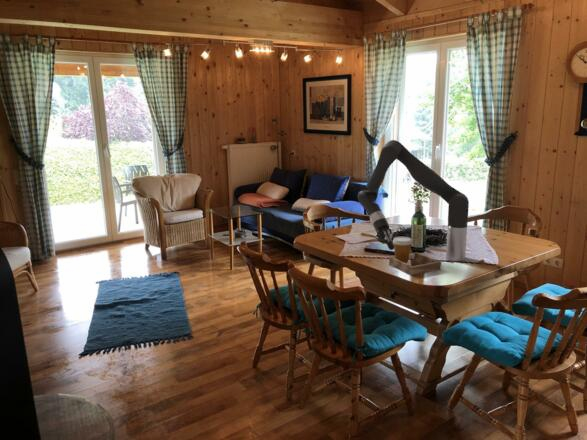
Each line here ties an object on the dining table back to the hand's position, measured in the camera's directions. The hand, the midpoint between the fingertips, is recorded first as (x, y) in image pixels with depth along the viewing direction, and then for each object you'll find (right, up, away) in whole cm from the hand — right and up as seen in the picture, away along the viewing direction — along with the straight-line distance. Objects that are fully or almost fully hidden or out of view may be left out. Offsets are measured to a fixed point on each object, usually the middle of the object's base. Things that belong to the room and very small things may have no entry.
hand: (392, 249), depth 241 cm
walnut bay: (+8, -8, -15) cm, 18 cm away
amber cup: (+3, -6, -6) cm, 9 cm away
